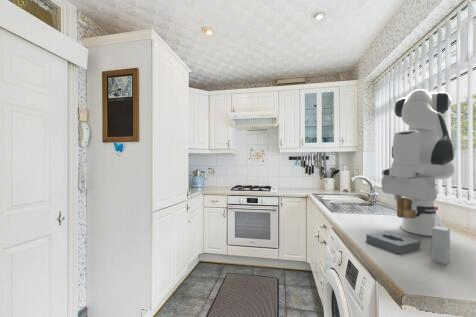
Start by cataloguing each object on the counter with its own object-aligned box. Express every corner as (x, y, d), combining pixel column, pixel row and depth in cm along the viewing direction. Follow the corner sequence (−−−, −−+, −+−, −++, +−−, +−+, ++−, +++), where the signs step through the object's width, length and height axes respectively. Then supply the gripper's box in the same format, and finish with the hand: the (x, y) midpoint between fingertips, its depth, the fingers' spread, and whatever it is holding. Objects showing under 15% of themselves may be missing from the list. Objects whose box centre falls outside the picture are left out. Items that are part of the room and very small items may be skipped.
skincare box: (434, 256, 84) (435, 225, 85) (450, 260, 81) (450, 227, 81) (431, 260, 81) (431, 227, 81) (447, 264, 77) (447, 230, 77)
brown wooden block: (408, 215, 86) (408, 197, 86) (417, 218, 82) (418, 199, 82) (394, 215, 85) (394, 197, 85) (403, 218, 81) (403, 199, 81)
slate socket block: (386, 237, 104) (386, 231, 104) (420, 248, 91) (420, 241, 91) (366, 241, 98) (366, 234, 98) (399, 254, 86) (399, 245, 86)
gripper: (442, 174, 73) (442, 215, 73) (392, 170, 94) (391, 202, 94) (425, 174, 73) (425, 215, 73) (378, 170, 93) (378, 203, 93)
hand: (406, 208), depth 83 cm, fingers closed on brown wooden block, 4 cm apart
